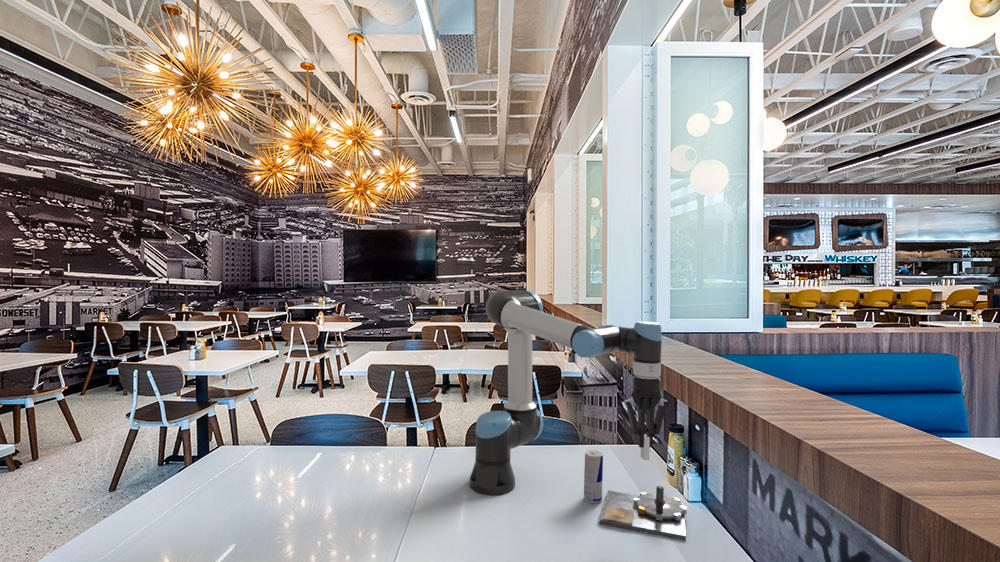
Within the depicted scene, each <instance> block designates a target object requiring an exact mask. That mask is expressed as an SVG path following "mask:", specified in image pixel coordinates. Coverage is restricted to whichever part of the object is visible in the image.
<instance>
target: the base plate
mask: <svg viewBox="0 0 1000 562" xmlns="http://www.w3.org/2000/svg"><path fill="white" fill-rule="evenodd" d="M605 496H606V497H605V499H604V503H603V507H602V510H601V514H600V517H599V524H600V525H605V526H609V527H614V528H620V529H624V530H628V531H629V530H630V531H634V530H635V532H639V531H642V532H641V533H645V532H647V533H646V534H650V533H651V535H656V536H661V537H665V538H672V539H677V540H682V541H686V540H687V536H686V535H687V534H686V531H687V529H686V516H685V515H686V514H682V516H681V520H677V521H676V520H674V519H662V521H661V520H656V518H655V517H651V516H649V515H646V514H643V515H642V514H641V513H639V512H638V507H637V506H636V505H634V498H638V497H639V496H640V494H631V493H626V492H625V493H624V492H621V491H615V490H614V491H613V490H609V489H608V490H607V493H606V495H605ZM681 504H682V506H685V503H684V502H681ZM606 506H611V507H617V508H623V509H628V510H634V517H633V524H632V526H630V525H625V524H620V523H614V522H609V521H604V520H603V517H604V513H605V510H606Z"/></svg>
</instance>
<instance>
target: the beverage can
mask: <svg viewBox="0 0 1000 562" xmlns="http://www.w3.org/2000/svg"><path fill="white" fill-rule="evenodd" d="M603 465H604V454H603V452H602V451H598V450H596V449H588V450H585V452H584V471H583V472H584V473H583V475H584V477H583V478H584V479H583V499H584V500H585V501H586V502H588V503H591V504H599V503H600V502H601V501H602V500H603V475H604V474H603V472H604V471H603V470H604V468H603V467H604V466H603Z"/></svg>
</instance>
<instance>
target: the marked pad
mask: <svg viewBox="0 0 1000 562" xmlns="http://www.w3.org/2000/svg"><path fill="white" fill-rule="evenodd" d="M633 517H634V510H628V509H623V508H617V507H611V506H606V510H605V513H604V517H603V520H604V521H609V522H614V523H620V524H625V525H630V526H632V524H633Z"/></svg>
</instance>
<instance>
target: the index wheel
mask: <svg viewBox="0 0 1000 562" xmlns="http://www.w3.org/2000/svg"><path fill="white" fill-rule="evenodd" d="M655 491H656V492H655V493H647V492H645V491H644V492H643V491H642V492H640V493H639V497H638V498H634V505H636V506H637V507H638V512H639V513H641V514H642V515H643V514H646V515H649V516H651V517H655V518H656V520H661V521H662V519H674V520H676V521H677V520H681V516H682V514H685V515H687V509H688V508H687V506H685V505H684V506H682V504H681V503H682V502H681V501H682V500H681V499H680V498H678V497H672V496H671V495H670V496H669V495H667V494H664V493H665V492H664V487H663V486H660V485H658V486H656V488H655Z"/></svg>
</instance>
